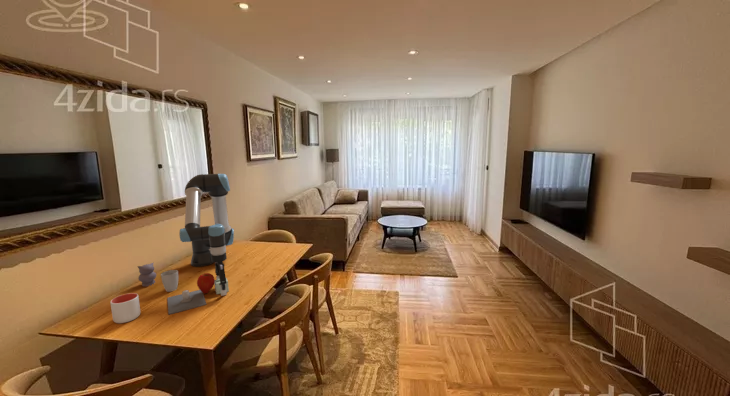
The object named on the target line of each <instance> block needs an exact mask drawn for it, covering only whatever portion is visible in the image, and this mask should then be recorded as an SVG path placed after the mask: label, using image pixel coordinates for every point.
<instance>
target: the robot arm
mask: <svg viewBox="0 0 730 396" xmlns="http://www.w3.org/2000/svg"><path fill="white" fill-rule="evenodd" d="M229 181H230V180H229V178H228V175H227V174H225V173H209V174H208V173H205V174H204V173H203V174H202V173H201V174H197V175H195V176H193V177H192V178H190V179H189V180H188V182H187V183H186V185H185V187H184V195H185V197H186V199H185V212H184V213H185V216H184V217H185V218H184V228H180V229H179V235H178V236H179V240H180V241H181V243H191V249H192V255H191V256H192V257H191V259H190V266H191V267H194V268H195V267H199V268H200V267H206V266H210V265H212V264H214V266H215V267H214V270H215V272H214V273H215V275H216V277H215V278H216V279H215V280H217V279H220V284H219V285H220V289H221V294H220V296H227V295H228V292H227V290H226V283H227V282H226V278H227V277H226V272H225V270H226V269H225V263H224V261H226V260H227V259H228V258H227V246H231V245H233V243H234V238H235V237H234V236H235V235H234V234H235V233H234V232H235V229H234V228H232V226H231V225H230V223H229V216H228V215H229V214H228V204H227V195H228V194H229V192H230V191H231V186H230V182H229ZM204 193H208V195H209V197H210V198H211V204H212V211H213V212H212V213H213V220H214V221H213V222H214V224H213V225H206V226H201V208H202V207H201V205H202V203H201V200H202V199H201V198H202V196H203V194H204Z"/></svg>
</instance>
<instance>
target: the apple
mask: <svg viewBox="0 0 730 396" xmlns="http://www.w3.org/2000/svg"><path fill="white" fill-rule="evenodd" d="M215 280H216V279H215V276H214V275H213V274H212V273H208V272H206V273H202V274H201V275H199V276H198V278H197V280H196V284H197V287H198V290H201V291H202V292H203V294H204V295H205V294H208V293H209V292H210V291H211V290H212V288H214V286H215V283H214V282H215Z"/></svg>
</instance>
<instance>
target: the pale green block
mask: <svg viewBox="0 0 730 396" xmlns="http://www.w3.org/2000/svg"><path fill="white" fill-rule="evenodd" d="M214 280H215V282H214V290H215V294H216V295H221V289H220V285H219V284H220V279H214ZM226 282H227V283H226V290H227V293H229V292H230V288H229V281H228V278H227V277H226Z"/></svg>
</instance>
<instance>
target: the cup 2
mask: <svg viewBox="0 0 730 396" xmlns="http://www.w3.org/2000/svg"><path fill="white" fill-rule="evenodd" d="M160 278H161V282H162V285H163V288H164V290H165V292H166V293H167V292H168V293H169V292H173V291H177V289H178V286H179V285H178V284H179V270H177V269H171V270H170V269H169V270H165V271H162V273H160Z"/></svg>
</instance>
